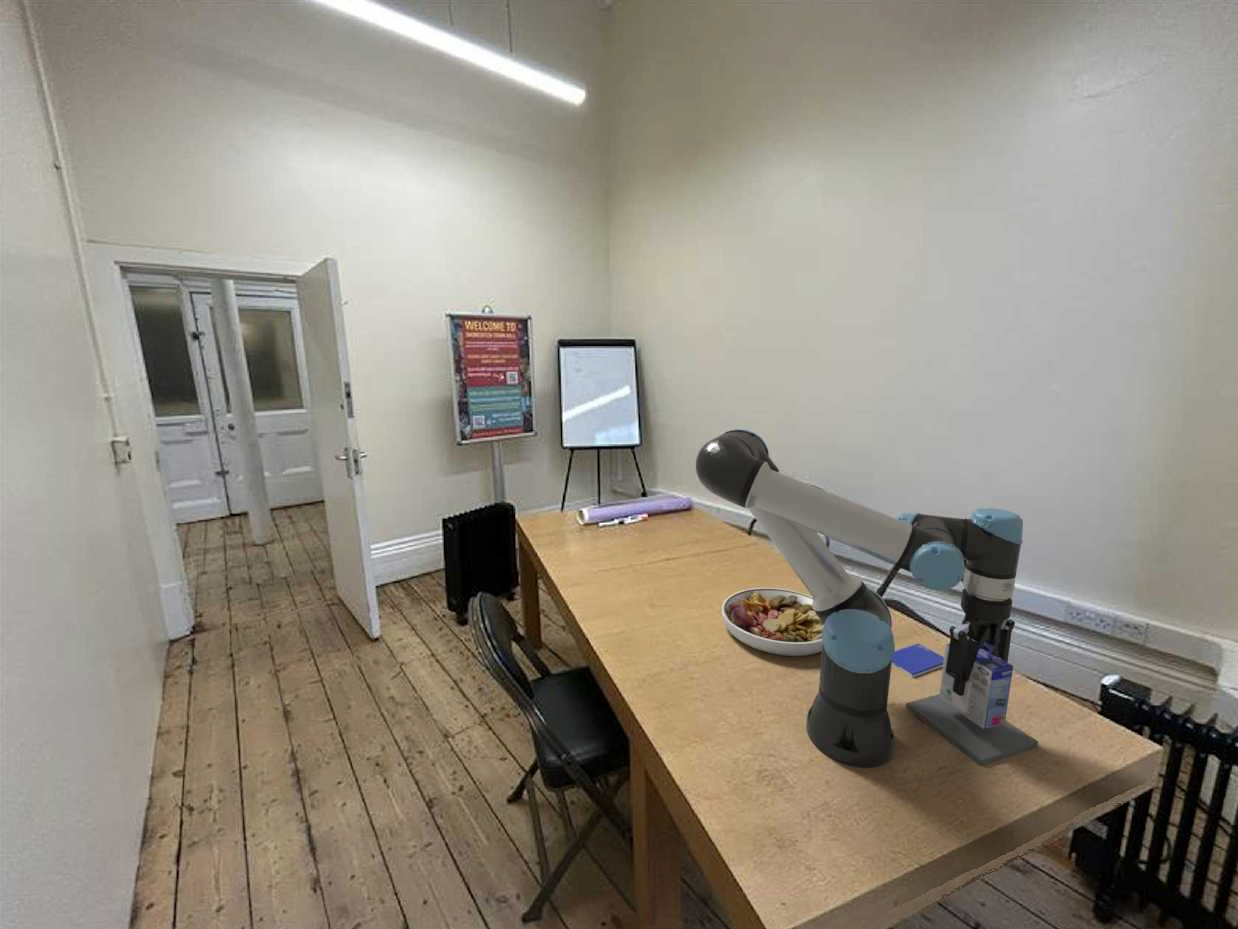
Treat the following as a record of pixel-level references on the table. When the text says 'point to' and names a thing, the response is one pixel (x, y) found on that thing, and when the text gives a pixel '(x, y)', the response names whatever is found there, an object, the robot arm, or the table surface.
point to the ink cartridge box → (983, 688)
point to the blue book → (916, 660)
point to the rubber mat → (971, 731)
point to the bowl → (774, 621)
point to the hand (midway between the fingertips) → (971, 704)
